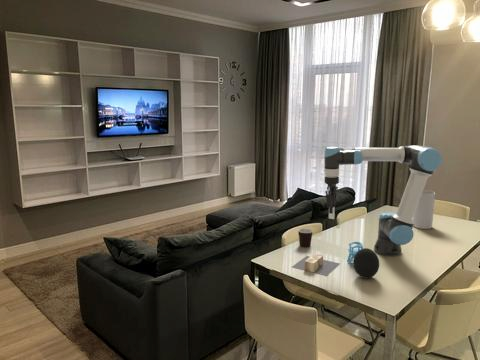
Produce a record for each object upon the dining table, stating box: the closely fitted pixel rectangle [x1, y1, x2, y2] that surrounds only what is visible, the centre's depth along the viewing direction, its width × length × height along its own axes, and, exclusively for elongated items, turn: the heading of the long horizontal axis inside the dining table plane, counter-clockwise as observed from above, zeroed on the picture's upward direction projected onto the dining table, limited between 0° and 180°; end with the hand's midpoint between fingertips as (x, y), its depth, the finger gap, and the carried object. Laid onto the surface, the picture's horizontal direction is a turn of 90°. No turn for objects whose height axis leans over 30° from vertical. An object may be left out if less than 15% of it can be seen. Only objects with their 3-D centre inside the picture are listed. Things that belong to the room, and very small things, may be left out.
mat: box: [291, 255, 341, 277], centre depth 209 cm, size 20×19×1 cm
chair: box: [346, 241, 364, 265], centre depth 212 cm, size 8×8×12 cm
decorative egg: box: [352, 247, 380, 279], centre depth 194 cm, size 12×12×15 cm
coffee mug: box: [297, 228, 313, 248], centre depth 239 cm, size 12×9×10 cm
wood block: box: [305, 253, 324, 273], centre depth 206 cm, size 5×5×12 cm
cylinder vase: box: [413, 189, 436, 230], centre depth 272 cm, size 12×12×25 cm
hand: (331, 218), depth 213 cm, fingers closed
